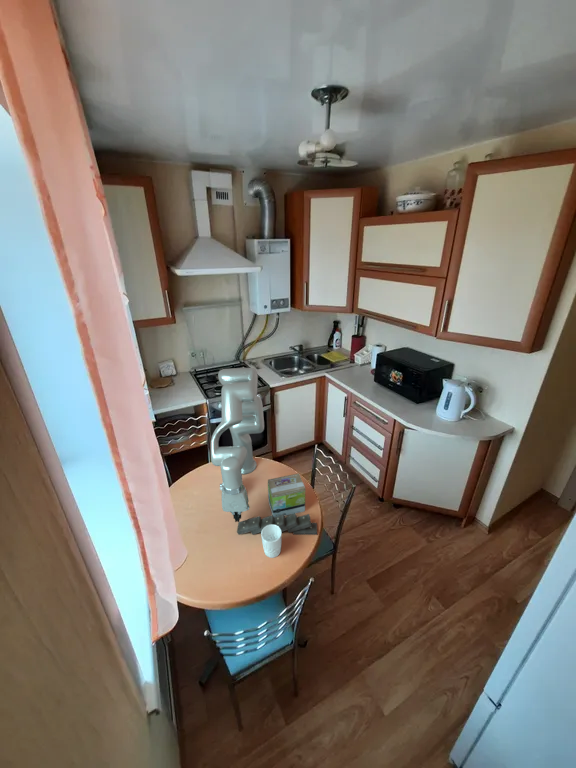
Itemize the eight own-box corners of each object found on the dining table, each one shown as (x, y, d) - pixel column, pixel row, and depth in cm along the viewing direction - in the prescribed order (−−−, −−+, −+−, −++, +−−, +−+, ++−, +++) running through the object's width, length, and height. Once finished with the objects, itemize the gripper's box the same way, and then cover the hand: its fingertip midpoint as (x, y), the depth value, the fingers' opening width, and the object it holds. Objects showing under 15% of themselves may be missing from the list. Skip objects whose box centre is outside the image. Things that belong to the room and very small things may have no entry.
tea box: (273, 519, 138) (271, 495, 131) (268, 502, 147) (266, 478, 140) (305, 511, 141) (305, 487, 135) (299, 495, 150) (298, 471, 144)
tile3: (273, 521, 135) (294, 512, 134) (276, 524, 136) (296, 515, 134) (274, 531, 130) (295, 521, 129) (276, 534, 131) (298, 525, 130)
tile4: (286, 519, 135) (308, 513, 134) (288, 523, 136) (310, 516, 135) (287, 529, 130) (310, 522, 129) (288, 532, 131) (311, 526, 130)
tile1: (251, 521, 135) (272, 514, 133) (253, 524, 136) (274, 517, 134) (250, 531, 130) (271, 524, 129) (252, 534, 131) (274, 527, 130)
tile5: (293, 522, 135) (316, 522, 134) (293, 525, 136) (316, 525, 135) (293, 532, 130) (317, 532, 130) (293, 535, 131) (317, 535, 131)
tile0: (238, 521, 135) (259, 515, 134) (240, 524, 136) (261, 518, 134) (236, 531, 131) (258, 525, 129) (238, 534, 131) (260, 528, 130)
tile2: (262, 522, 135) (282, 513, 133) (264, 525, 136) (285, 516, 134) (261, 531, 130) (283, 523, 129) (264, 534, 131) (285, 526, 130)
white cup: (271, 537, 130) (270, 521, 125) (286, 548, 125) (285, 531, 121) (258, 551, 124) (256, 534, 120) (273, 563, 120) (272, 546, 115)
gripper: (212, 493, 119) (218, 527, 127) (251, 493, 119) (254, 526, 127) (216, 479, 126) (221, 512, 134) (253, 479, 126) (256, 511, 134)
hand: (237, 519), depth 131 cm, fingers closed
